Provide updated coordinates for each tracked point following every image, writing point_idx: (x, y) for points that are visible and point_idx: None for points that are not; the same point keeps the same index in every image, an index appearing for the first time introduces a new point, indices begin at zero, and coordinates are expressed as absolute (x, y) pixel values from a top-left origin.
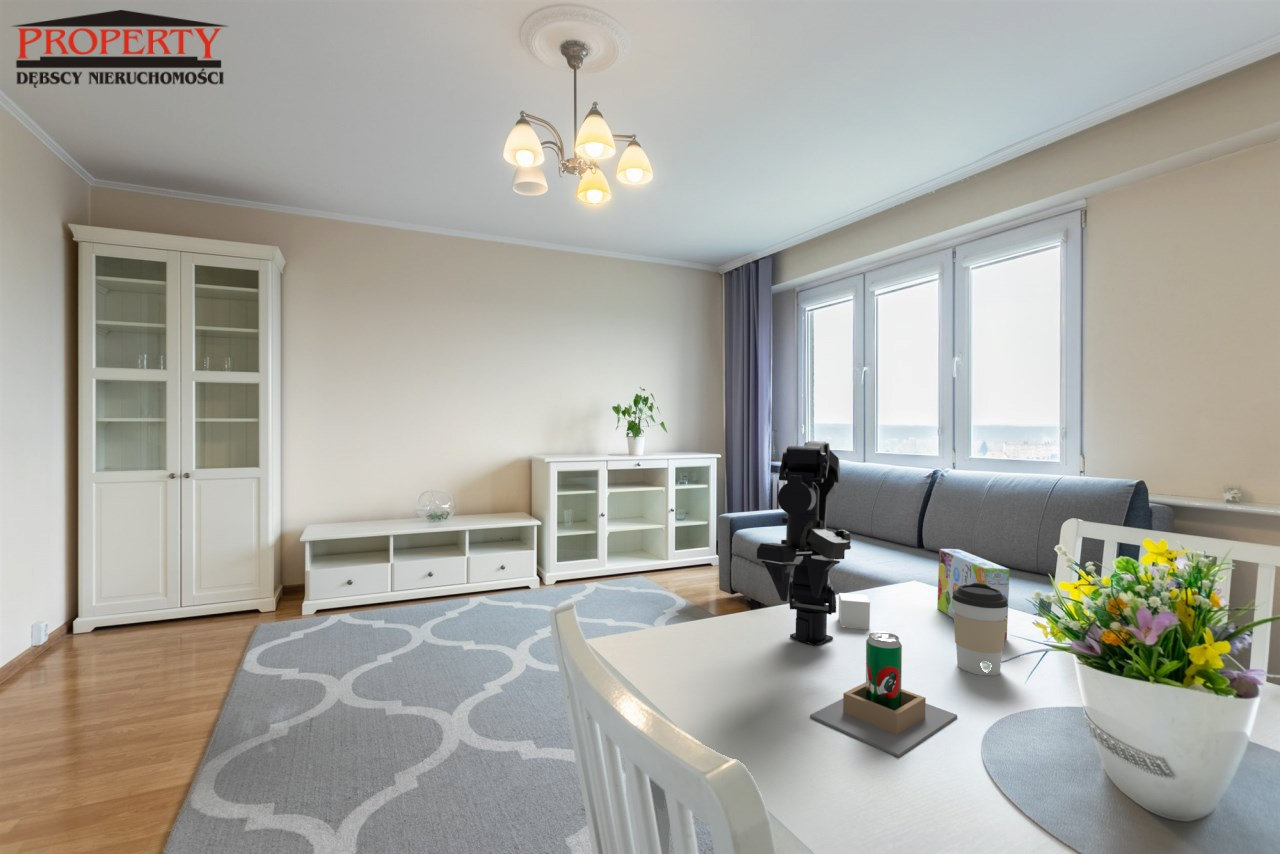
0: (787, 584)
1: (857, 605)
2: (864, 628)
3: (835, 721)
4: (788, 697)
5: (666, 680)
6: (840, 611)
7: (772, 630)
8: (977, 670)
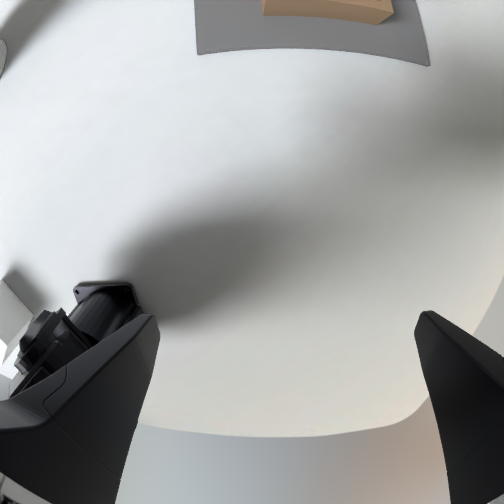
0: (487, 357)
1: None
2: (6, 285)
3: (411, 25)
4: (404, 133)
5: (468, 301)
6: (18, 336)
7: (157, 374)
8: (2, 45)
